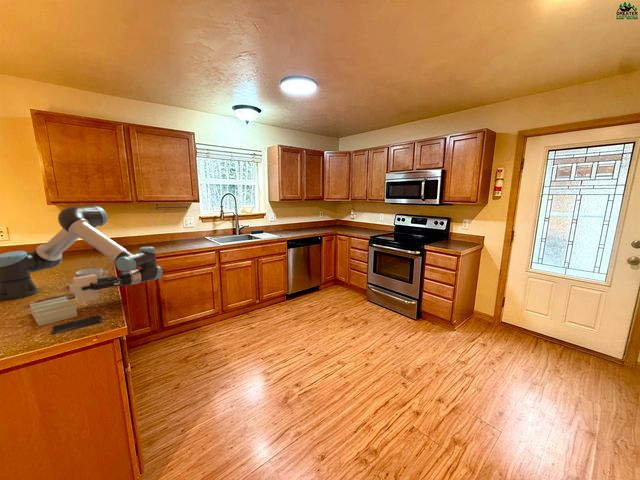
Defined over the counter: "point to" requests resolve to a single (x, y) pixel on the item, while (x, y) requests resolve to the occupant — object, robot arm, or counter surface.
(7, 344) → the counter surface
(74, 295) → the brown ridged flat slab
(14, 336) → the counter surface
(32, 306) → the slotted rack base
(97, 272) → the teacup
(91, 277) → the beige rectangular block
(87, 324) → the phone
